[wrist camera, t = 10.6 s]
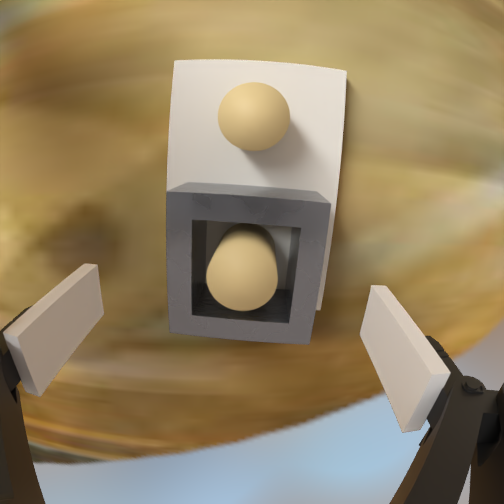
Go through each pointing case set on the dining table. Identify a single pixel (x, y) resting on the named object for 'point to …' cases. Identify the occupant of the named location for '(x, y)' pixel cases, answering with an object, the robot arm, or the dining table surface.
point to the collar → (254, 212)
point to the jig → (255, 158)
